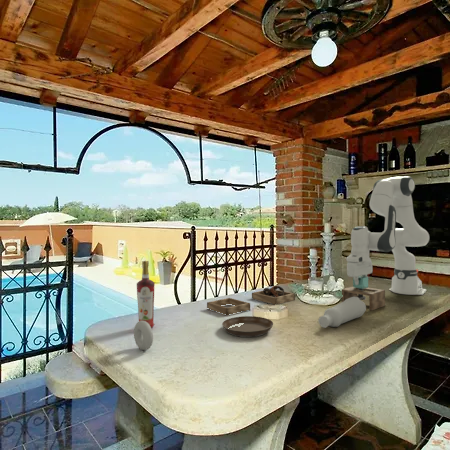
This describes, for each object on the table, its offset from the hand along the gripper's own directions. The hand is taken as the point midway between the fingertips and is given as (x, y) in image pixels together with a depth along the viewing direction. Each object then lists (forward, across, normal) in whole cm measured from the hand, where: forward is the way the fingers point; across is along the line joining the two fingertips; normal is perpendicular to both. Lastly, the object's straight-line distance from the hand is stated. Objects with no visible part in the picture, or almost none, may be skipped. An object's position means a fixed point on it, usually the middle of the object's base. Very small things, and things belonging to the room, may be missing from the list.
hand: (360, 283), depth 168 cm
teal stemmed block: (+8, 0, 0) cm, 8 cm away
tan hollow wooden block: (+11, 0, +1) cm, 11 cm away
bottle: (+11, +35, +9) cm, 38 cm away
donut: (+11, +113, -19) cm, 115 cm away
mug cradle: (+11, +25, -39) cm, 47 cm away
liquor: (+11, +102, -40) cm, 110 cm away
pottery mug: (+11, +22, -40) cm, 48 cm away
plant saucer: (+11, +72, -10) cm, 74 cm away
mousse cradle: (+11, +58, -39) cm, 71 cm away
